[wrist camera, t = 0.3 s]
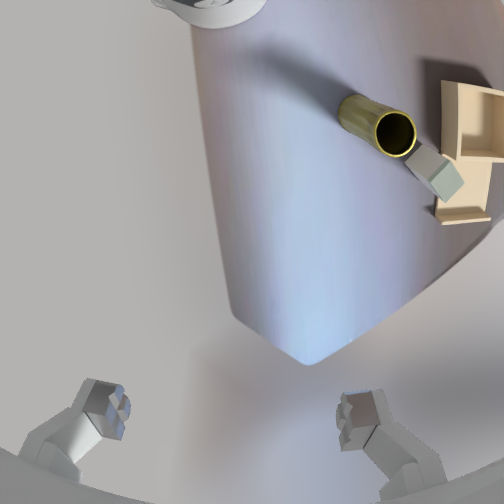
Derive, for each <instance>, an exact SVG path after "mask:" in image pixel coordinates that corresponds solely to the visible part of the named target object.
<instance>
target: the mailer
mask: <svg viewBox="0 0 504 504" xmlns="http://www.w3.org/2000/svg"><path fill="white" fill-rule="evenodd" d="M441 99H442V131H441V152H442V153H441V155H442V156H444V157H445V158H447V159H449V160H450V161H451V162H452V163H453V165H454V166H455V168H456V169H457V171H458V172H459V174H460V175H461V177H462V179H463V180H464V182H465V184H464V185H463V186H462V187H461V188H460V189H459V190H458V191H457V192H456V193H455V194H454V195H453V196H452V197H451V198H450V199H449V200H448V201H447V202H446V203H444V202H443V201H442V200H441V199H440V198H439V197H438V196H437V201H436V209H435V216H434V217H435V218H436V219H437V220H438V221H439V223H440V224H441V225H447V224H458V223H468V222H479V221H490V220H491V217H490V216H489V215H488V214H486V213H485V207H486V201H487V195H488V189H489V183H490V175H491V167H492V162H504V91H500V90H496V89H492V88H487V87H482V86H476V85H471V84H465V83H459V82H452V81H445V80H441Z"/></svg>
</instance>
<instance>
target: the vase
mask: <svg viewBox="0 0 504 504" xmlns="http://www.w3.org/2000/svg"><path fill="white" fill-rule="evenodd" d="M338 118H339V121H340V123H341V125H342V127H343V128H344V129H345V130H346V131H348V132H350V133H352V134H354V135H356V136H358V137H360V138H361V139H363V140H365V141H367V142H368V143H369V144H370V145H372V146H373V147H374V148H376V149H377V150H378V151H380V152H382V153H384V154H386V155H388V156H390V157H401V156H403V155H405V154H406V153H408V152H409V151H410V150H411V149H412V148H413V146H414V144H415V141H416V136H417V132H416V126H415V124H414V122H413V120H412V119H411V117H410V116H409V115H408V114H406V113H404V112H402V111H400V110H396V109H394V108H392V107H389V106H386V105H383V104H380V103H377V102H375V101H372V100H370V99H369V98H367V97H365V96H362V95H352V96H349V97H347V98H346V99H344V100H343V102H342V103H341V104H340V107H339V110H338Z"/></svg>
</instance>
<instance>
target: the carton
mask: <svg viewBox="0 0 504 504" xmlns="http://www.w3.org/2000/svg"><path fill="white" fill-rule="evenodd" d="M404 163H405V164H406V165H407V166H408V167H409V169H410V170H411V171H412V172H413V173H414V175H415V176H416V177H417V178H418V180H419V181H420V182H421V183H423V184H424V185H425V186H426V187H427V188H429V189H430V190H431V191H432V192H433V193H434V194H435V195H437V196H438V197H439V198H440V199H441V200H442V201H443V202H444V203H446V202H447V201H448V200H449V199H450V198H451V197H452V196H453V195H454V194H455V193H456V192H457V191H458V190H459V189H460V188H461V187H462V186H463V185H464V184H465V182H464V180H463V179H462V177H461V175H460V174H459V172H458V171H457V169H456V168H455V166H454V165H453V163H452V162H451V161H450V160H449V159H447V158H445V157H444V156H442V155H440V154H439V153H437V152H435V151H433V150H432V149H430V148H428V147H427V146H425V145H423V144H422V145H421V146H420V147H419V148H418V149H417V150H416V151H415V152H414V153H413V154H412V155H411V156H410V157H409V158H408V159H407V160H406V161H405V162H404Z"/></svg>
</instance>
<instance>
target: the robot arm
mask: <svg viewBox="0 0 504 504" xmlns="http://www.w3.org/2000/svg"><path fill="white" fill-rule="evenodd" d="M266 1H267V0H152V3H153V4H154V5H155V6H158V7H160V8H164V9H168V10H171V11H173V12H174V13H175V14H176V15H177V16H179V17H180V18H181V19H182V20H184V21H186V22H187V23H190V24H192V25H195V26H198V27H202V28H225V27H230V26H233V25H236V24H239V23H241V22H244V21H245V20H247V19H249V18H250V17H252V16H253V15H255V14H256V13H257V12H258V11H259V10H260V9H261V8H262V7H263V5H264V4H265V2H266ZM123 393H124V388H123V386H122V385H120V384H114V383H108V382H103V381H99V380H94V379H90V378H87V379H86V380H84V382H83V384H82V386H81V388H80V390H79V392H78V394H77V396H76V398H75V400H74V402H73V404H72V406H71V408H66V409H65V410H63V411H62V412H60V413H59V414H57V415H55V416H54V417H52V418H51V419H50V420H48V421H46V422H45V423H43V424H42V425H40V426H39V427H37V428H36V429H34V430H32V431H31V432H30V433H29V434H28V436H27V438H26V440H25V442H24V444H23V446H22V448H21V450H20V452H19V455H18V456H16V455H14V454H12V453H10V452H8V451H6V450H5V449H3V448H1V447H0V504H153V503H148V502H143V501H139V500H135V499H130V498H127V497H123V496H119V495H115V494H112V493H108V492H105V491H102V490H98V489H95V488H92V487H89V486H86V485H83V484H80V481H81V479H82V475H83V473H82V471H81V470H80V469H79V468H78V467H77V466H76V465H75V464H74V463H76V462H77V461H78V460H79V459H80V458H81V457H82V456H83V455H84V454H85V453H87V452H88V451H89V450H90V449H91V448H92V447H93V446H94V445H95V444H96V443H98V442H99V441H100V440H101V439H102V437H105V438H110V439H115V440H121V439H122V436H123V433H124V430H125V426H124V423H123V422H125V421H126V420H127V419H128V418H129V415H130V407H131V405H130V401H129V399H128V397H127V396H126V395H125V394H123ZM336 423H337V428H338V429H339V430H341V434H340V436H339V441H340V446H341V451H351V450H360V449H363V451H364V452H365V453H366V454H367V455H368V457H369V458H370V459H371V460H372V461H373V462H374V463H375V464H376V465H377V466H378V467H379V468H380V470H381V471H382V472H383V473H384V474H385V475H386V476H387V477H388V478H389V479H390V480H389V481H388V482H387V483H386V484H385V485H384V486H383V487H382V488H381V489H380V491H379V492H380V498H381V502H376V503H371V504H504V457H503V458H501V459H499V460H497V461H495V462H493V463H491V464H489V465H487V466H485V467H482V468H480V469H478V470H476V471H473V472H471V473H469V474H466V475H464V476H461V477H459V478H456V479H454V480H451V481H449V482H448V481H447V478H446V475H445V472H444V469H443V466H442V463H441V460H440V457H439V454H437V453H436V452H435V451H434V450H433V449H431V448H430V447H429V446H427V445H426V444H425V443H424V442H422V441H421V440H420V439H419V438H417V437H416V436H415V435H414V434H412V433H411V432H410V431H409V430H407V429H406V428H405V427H403V426H402V425H401V424H400V423H399V422H394V419H393V416H392V413H391V411H390V407H389V405H388V402H387V398H386V395H385V393H384V390H383V389H382V388H380V389H372V390H361V391H352V392H344V393H342V395H341V403H340V404H339V405H338V407H337V410H336Z"/></svg>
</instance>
